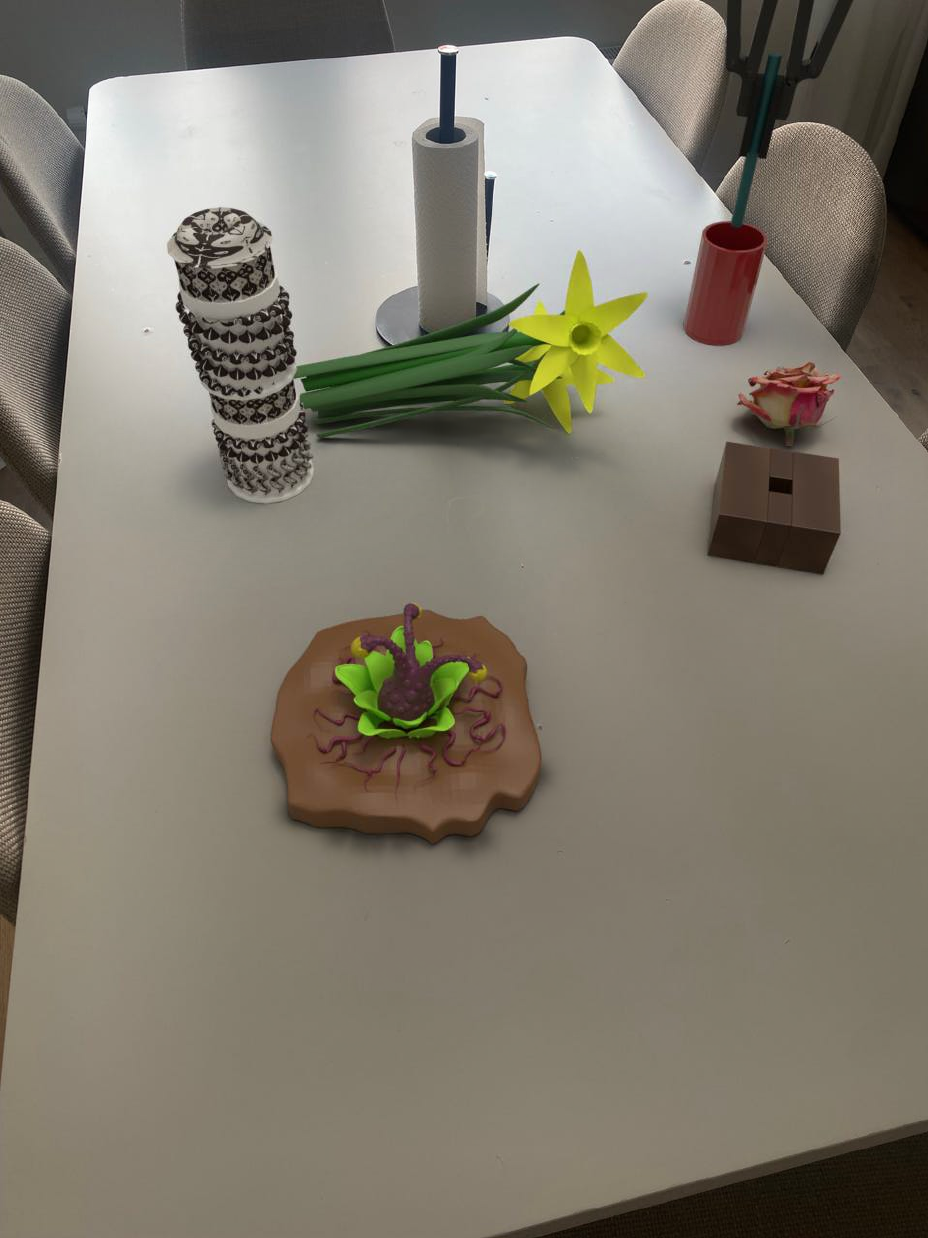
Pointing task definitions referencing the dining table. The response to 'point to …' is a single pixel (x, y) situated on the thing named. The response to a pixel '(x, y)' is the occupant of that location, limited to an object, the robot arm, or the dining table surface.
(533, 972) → the dining table surface
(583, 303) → the daffodil flowers
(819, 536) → the holder
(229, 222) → the decorative candle
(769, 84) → the straw
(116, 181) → the dining table surface
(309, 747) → the plant
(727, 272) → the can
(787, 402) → the flower
